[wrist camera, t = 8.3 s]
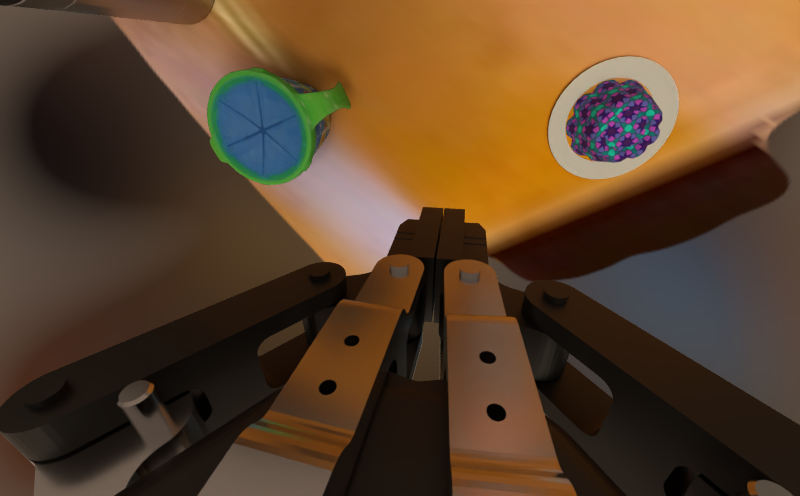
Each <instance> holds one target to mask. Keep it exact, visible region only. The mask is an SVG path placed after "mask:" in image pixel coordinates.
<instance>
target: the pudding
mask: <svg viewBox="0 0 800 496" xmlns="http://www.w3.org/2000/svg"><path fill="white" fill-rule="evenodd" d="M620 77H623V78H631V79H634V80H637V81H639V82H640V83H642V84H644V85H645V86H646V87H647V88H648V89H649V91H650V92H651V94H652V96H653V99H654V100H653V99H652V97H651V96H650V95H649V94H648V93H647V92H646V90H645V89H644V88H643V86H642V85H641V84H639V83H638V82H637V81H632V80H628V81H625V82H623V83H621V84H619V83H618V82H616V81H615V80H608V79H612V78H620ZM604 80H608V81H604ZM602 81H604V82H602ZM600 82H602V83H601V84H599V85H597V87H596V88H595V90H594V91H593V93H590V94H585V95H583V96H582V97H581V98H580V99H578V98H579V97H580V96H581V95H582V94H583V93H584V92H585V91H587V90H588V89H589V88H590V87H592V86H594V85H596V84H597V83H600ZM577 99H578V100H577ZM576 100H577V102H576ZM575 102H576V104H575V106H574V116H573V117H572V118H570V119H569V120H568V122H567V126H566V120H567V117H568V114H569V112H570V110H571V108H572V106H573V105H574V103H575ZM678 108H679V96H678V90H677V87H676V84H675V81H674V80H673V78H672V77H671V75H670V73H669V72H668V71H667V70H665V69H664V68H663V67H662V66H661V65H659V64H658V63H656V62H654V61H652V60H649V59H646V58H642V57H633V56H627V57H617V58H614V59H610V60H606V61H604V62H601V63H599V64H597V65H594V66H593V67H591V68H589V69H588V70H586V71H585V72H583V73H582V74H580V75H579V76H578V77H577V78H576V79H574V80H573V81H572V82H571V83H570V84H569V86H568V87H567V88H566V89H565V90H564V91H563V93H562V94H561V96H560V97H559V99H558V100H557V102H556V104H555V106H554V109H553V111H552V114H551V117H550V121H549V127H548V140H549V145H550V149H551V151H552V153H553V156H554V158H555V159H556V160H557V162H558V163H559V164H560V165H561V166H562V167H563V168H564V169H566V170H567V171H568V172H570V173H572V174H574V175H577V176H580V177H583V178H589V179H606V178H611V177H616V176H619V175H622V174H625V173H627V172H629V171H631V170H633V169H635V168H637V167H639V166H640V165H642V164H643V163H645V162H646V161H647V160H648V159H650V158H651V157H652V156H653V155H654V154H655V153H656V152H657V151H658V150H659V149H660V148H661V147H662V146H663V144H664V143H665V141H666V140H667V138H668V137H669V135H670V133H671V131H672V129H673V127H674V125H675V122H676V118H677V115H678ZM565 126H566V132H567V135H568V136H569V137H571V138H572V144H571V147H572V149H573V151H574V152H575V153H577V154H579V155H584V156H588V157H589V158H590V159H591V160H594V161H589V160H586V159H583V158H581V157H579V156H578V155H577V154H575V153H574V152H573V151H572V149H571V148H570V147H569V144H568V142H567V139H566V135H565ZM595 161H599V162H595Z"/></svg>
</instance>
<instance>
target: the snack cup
mask: <svg viewBox="0 0 800 496" xmlns="http://www.w3.org/2000/svg"><path fill="white" fill-rule="evenodd" d="M340 108H347V109H350V108H351V104H350V101H349V99H348V97H347V94H346V92H345V90H344V88H343V86H342V84H341V83H340V82H338V83H337V85H336V86H335V87H334V88H332V89H330V90H325V91H319V92H317V91H316V90H315V89H314V88H312V87H311V86H309V85H307V84H304V83H302V82H298V81H295V80H290V79H285V78H280V77H278V76H276V75H274V74H272V73H270V72H268V71H267V70H265V69H262V68H251V69H246V70H239V71H235V72H231V73H229V74H227V75H226V76H224V77H223V78H222V79H221V80H220V81H219V82H218V83H217V84H216V85H215V87H214V88H213V90H212V92H211V93H210V98H209V102H208V108H207V118H208V125H209V130H210V133H211V136H212V137H211V139H210V144H211V147H212V148H213V150H214V152H215V153H216V155H217V156H218V158H219V159H220V160H221V162H226V163H229V164H230V165H231V167H233V168H234V169H235V170H236V171H237V172H239V173H240V174H241V175H243V176H245V177H246V178H248V179H250V180H253V181H255V182H258V183H261V184H265V185H276V184H283V183H286V182H289V181H291V180H292V179H294V178H296V177H297V176H299V175H300V174H301V173H302V172H303V171H306V170H307V169H308V168H309V166H310V164H311V162H312V158H313V155H314V154H315V152H316V151H317V150H318V149H319V147H320V146H321V145H322V143H323V142H324V140H325V139H326V137H327V136H328V132H329V130H330V114H331V113H333V112H335V111H336V110H338V109H340Z"/></svg>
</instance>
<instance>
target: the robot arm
mask: <svg viewBox="0 0 800 496" xmlns="http://www.w3.org/2000/svg"><path fill="white" fill-rule="evenodd" d="M213 3H214V0H0V5H3V6H4V5H5V6H15V7H25V8H35V9H44V10H56V11H66V12H75V13H84V14H93V15H103V16H112V17H121V18H131V19H140V20H150V21H157V22H167V23H177V24H194V23H197V22H200V21H201V20H202V19H204V18H205V17H206V16H207V14H208V13H209V12H210V10H211V7H212V5H213ZM464 219H465V209H449V208H445V209H444V216H443V208H431V207H423V209H422V212H421V216H420V219H419V220H414V219H408V220H406V221H405V222H403V223H402V224H401V225H400V226H399V228H398V231H397V234H396V236H395V239H394V241H393V243H392V246H391V248H390V250H389V253H388V255H387V257H384V258H382V259H381V260H379V261H378V262H377V264H376V265H375V267H374V269H373V270H372V272H370V273H366V274H361V275H352V276H346V272H345V269H344V268H343V267H342V266H340V265H338V264H336V263H331V262H321V263H315V264H311V265H308V266H306V267H303V268H301V269H298V270H296V271H294V272H291V273H289V274H286V275H284V276H281V277H279V278H277V279H274V280H272V281H269V282H267V283H265V284H262V285H260V286H258V287H255V288H252V289H250V290H248V291H245V292H243V293H241V294H238V295H236V296H233V297H231V298H228V299H226V300H224V301H221V302H219V303H216V304H214V305H212V306H209V307H207V308H204V309H202V310H199V311H197V312H194V313H192V314H190V315H187V316H185V317H182V318H180V319H178V320H175V321H173V322H170V323H168V324H166V325H163V326H161V327H158V328H156V329H153V330H151V331H149V332H146V333H144V334H141V335H139V336H137V337H134V338H132V339H129V340H127V341H125V342H122V343H120V344H117V345H115V346H112V347H110V348H108V349H105V350H103V351H100V352H98V353H96V354H93V355H91V356H88V357H86V358H83V359H81V360H79V361H76V362H74V363H71V364H69V365H66V366H64V367H62V368H59V369H57V370H54V371H52V372H50V373H48V374H45V375H43V376H41V377H39V378H37V379H35V380H33V381H32V382H30V383H28V384H27V385H26V386H24V387H23V388H21V389H20V390H18V391H17V392H16V393H14V394H13V395H12V396H11V397H10V398H9V399H8V400H7V401H6V402H5V403H4V404H3V405H2V406H1V407H0V433H1V434H2V435H3V436H4V437H5V438H6V439H7V440H8V441H9V442H10V443H11V444H12V445H13V446H14V447H15V448H16V449H17V450H18V451H19V452H21V453H22V454H23V455H24V456H25V457H26V458H27V459H28V460H29V461H30V462H31V463H32V464H33V465H34V466H35V467H36V469H35V486H34V496H800V425H799V424H797V423H795V422H793V421H792V420H790V419H789V418H787V417H785V416H784V415H782V414H780V413H779V412H777V411H776V410H774V409H772V408H771V407H769V406H767V405H766V404H764V403H762V402H761V401H759V400H757V399H756V398H754V397H752V396H751V395H749V394H748V393H746V392H744V391H743V390H741V389H739V388H738V387H736V386H734V385H733V384H731V383H730V382H727V381H726V380H725V379H723V378H721V377H720V376H718V375H716V374H715V373H713V372H711V371H710V370H708V369H706V368H705V367H703V366H702V365H700V364H698V363H696V362H695V361H693V360H692V359H690V358H688V357H687V356H685V355H683V354H682V353H680V352H679V351H677V350H675V349H674V348H672V347H670V346H669V345H667V344H665V343H664V342H662V341H660V340H659V339H657V338H655V337H654V336H652V335H650V334H649V333H647V332H646V331H644V330H642V329H641V328H639V327H637V326H636V325H634V324H632V323H631V322H629V321H627V320H626V319H624V318H623V317H621V316H619V315H618V314H616V313H614V312H613V311H611V310H609V309H607V308H606V307H604V306H603V305H601V304H599V303H598V302H596V301H594V300H593V299H591V298H590V297H588V296H586V295H584V294H583V293H581V292H580V291H578V290H576V289H575V288H573V287H571V286H569V285H567V284H564V283H561V282H557V281H551V280H539V281H535V282H532V283H530V284H529V285H528V286H527V287H526V290H525V292H522V291H519V290H516V289H512V288H509V287H507V286H504V285H502V284H500V283H499V282H498V281H497V277H496V273H495V271H494V270H493V269H492V268H491V267H490V266H489V265H488V254H487V242H486V231H485V229H484V228H483V227H482V226H481V225H480V224H479V223H464ZM434 302H435V305H434ZM433 309H434V323H439V336H440V380H432V381H414V380H412V379H413V375H414V371H415V367H416V364H417V360H418V357H419V353H420V349H421V345H422V341H423V324H424V321H426V322H432V316H433ZM301 320H302V321H303V326H304V330H305V332H304V333H303V334H301V335H299V336H297V337H295V338H293V339H291V340H289V341H288V342H286V343H284V344H282V345H280V346H278V347H277V348H275V349H273V350H271V351H269V352H267V353H265V354H263V355H261V356H259V357H258V355H257V351H258V348H259V346H260V344H261V343H262V342H263V341H264V340H265V339H266V338H268V337H270V336H271V335H273V334H275V333H277V332H279V331H281V330H283V329H285V328H287V327H289V326H291V325H293V324H295V323H297V322H299V321H301ZM569 353H570V354H571V355H573V356H574V357H575V358H576V359H578V360H579V361H580V362H582V363H583V364H584V365H585V366H587V367H588V368H589V369H590V370H592V371H593V372H594V373H595V374H597V375H598V376H599V377H601V378H602V379H603V380H604V381H605V382H606V384H607V385H608V386H609V388H610V390H611V392H612V395H613V399H612V398H611V397H610V396H609V395H608V394H606V393H605V392H604V391H603V390H601V389H600V388H599V387H598V386H596V385H595V384H594V383H593V382H592V381H590V380H589V379H588V378H587V377H585V376H584V375H583V374H582V373H581V372H579V371H578V370H577V369H576V368H574V367H573V366H572V365H571V364H570V363H568V362H567V359H568V356H569ZM544 412H545V413H546V414H547V415H548V416H549V418H548V417H547V416H546V415H544Z"/></svg>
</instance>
